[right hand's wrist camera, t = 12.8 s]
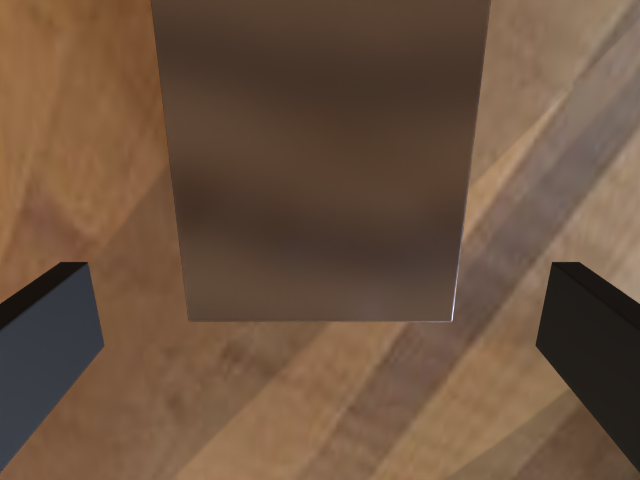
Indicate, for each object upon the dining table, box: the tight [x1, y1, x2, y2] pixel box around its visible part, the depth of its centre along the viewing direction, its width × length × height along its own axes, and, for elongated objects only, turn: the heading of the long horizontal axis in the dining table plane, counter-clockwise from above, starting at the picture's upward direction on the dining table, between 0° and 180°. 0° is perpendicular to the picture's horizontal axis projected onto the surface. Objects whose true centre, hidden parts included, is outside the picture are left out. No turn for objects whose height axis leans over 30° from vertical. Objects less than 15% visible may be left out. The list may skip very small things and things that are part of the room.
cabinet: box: [151, 0, 491, 322], centre depth 19 cm, size 20×11×9 cm, turn 0°
